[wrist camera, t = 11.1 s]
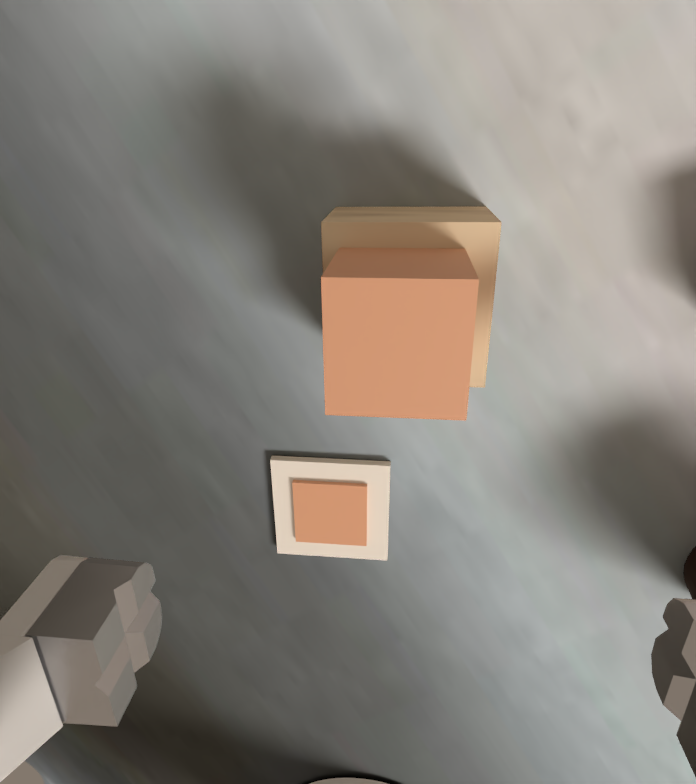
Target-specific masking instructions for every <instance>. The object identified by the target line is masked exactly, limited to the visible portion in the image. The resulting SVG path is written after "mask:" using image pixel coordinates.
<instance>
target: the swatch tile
mask: <svg viewBox="0 0 696 784" xmlns="http://www.w3.org/2000/svg"><path fill="white" fill-rule="evenodd" d="M270 465H271V477H272V490H273V503H274V515H275V528H276V541H277V553H282V554H297V555H312V556H327V557H342V558H357V559H372V560H387V557H388V527H389V496H390V465H391V461H373V460H352V459H332V458H312V457H292V456H272V457H271V459H270Z"/></svg>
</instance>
